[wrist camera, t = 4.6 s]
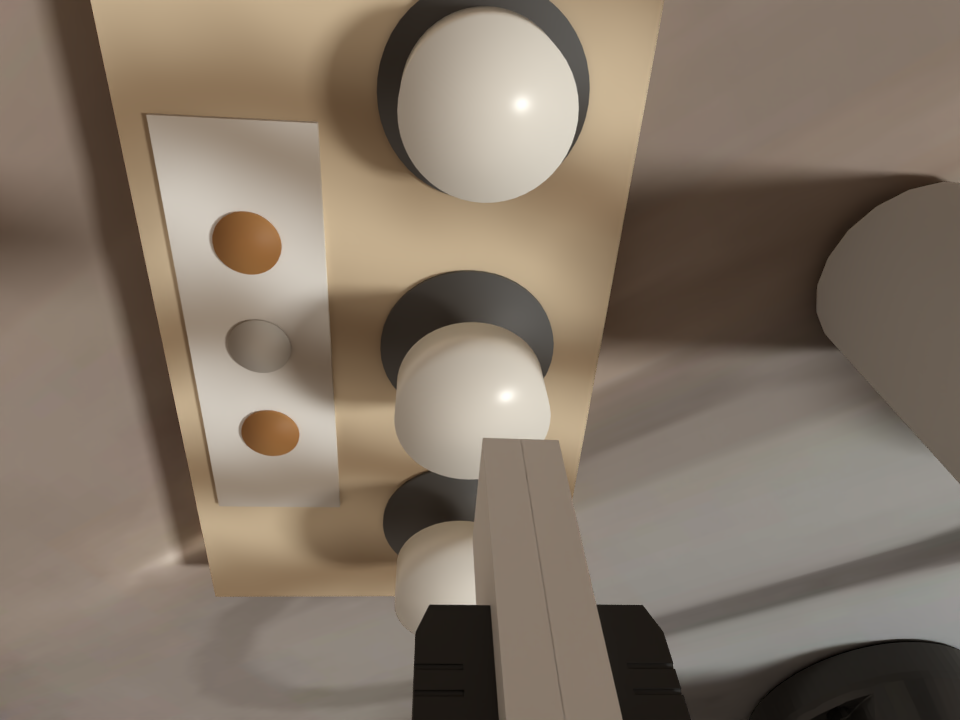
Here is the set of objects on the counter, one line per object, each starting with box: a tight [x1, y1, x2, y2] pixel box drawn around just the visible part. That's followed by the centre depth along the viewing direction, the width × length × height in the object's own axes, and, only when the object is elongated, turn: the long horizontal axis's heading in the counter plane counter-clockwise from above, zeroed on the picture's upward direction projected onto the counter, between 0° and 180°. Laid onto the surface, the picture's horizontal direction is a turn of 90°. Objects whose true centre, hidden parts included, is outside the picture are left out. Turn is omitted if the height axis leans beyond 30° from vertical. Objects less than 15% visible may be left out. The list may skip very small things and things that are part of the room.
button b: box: [394, 322, 551, 480], centre depth 23 cm, size 5×5×2 cm
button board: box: [90, 0, 664, 597], centre depth 27 cm, size 28×16×2 cm, turn 176°
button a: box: [395, 521, 476, 634], centre depth 28 cm, size 5×5×2 cm
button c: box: [397, 6, 579, 203], centre depth 20 cm, size 5×5×2 cm
